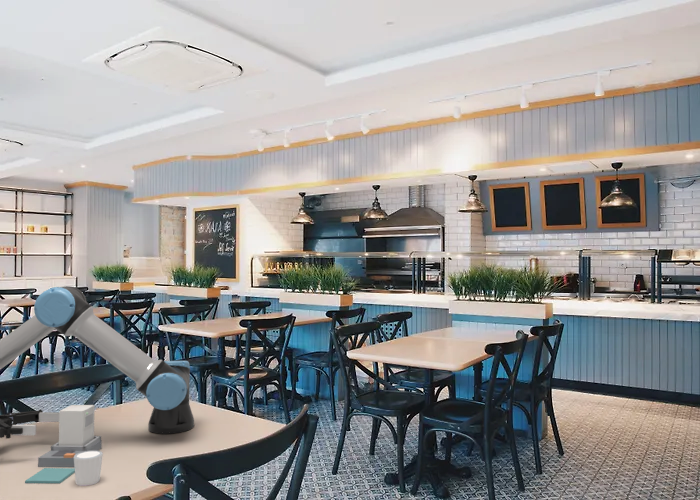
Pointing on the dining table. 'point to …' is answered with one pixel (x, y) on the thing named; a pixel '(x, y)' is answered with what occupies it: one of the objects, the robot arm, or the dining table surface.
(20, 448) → the dining table surface
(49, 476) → the mat
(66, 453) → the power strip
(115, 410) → the dining table surface
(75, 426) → the block
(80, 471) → the white cup
